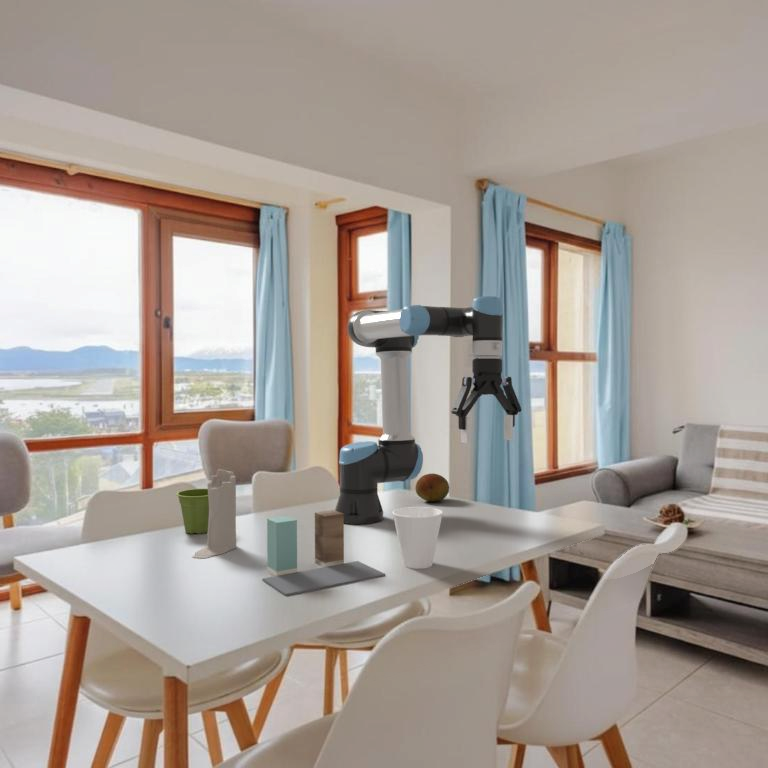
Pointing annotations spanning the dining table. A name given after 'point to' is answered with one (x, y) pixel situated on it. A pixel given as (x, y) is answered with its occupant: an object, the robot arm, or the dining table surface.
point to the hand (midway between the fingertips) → (487, 441)
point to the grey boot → (220, 515)
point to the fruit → (432, 487)
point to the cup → (417, 535)
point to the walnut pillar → (329, 538)
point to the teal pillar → (282, 545)
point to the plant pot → (195, 510)
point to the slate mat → (322, 578)
